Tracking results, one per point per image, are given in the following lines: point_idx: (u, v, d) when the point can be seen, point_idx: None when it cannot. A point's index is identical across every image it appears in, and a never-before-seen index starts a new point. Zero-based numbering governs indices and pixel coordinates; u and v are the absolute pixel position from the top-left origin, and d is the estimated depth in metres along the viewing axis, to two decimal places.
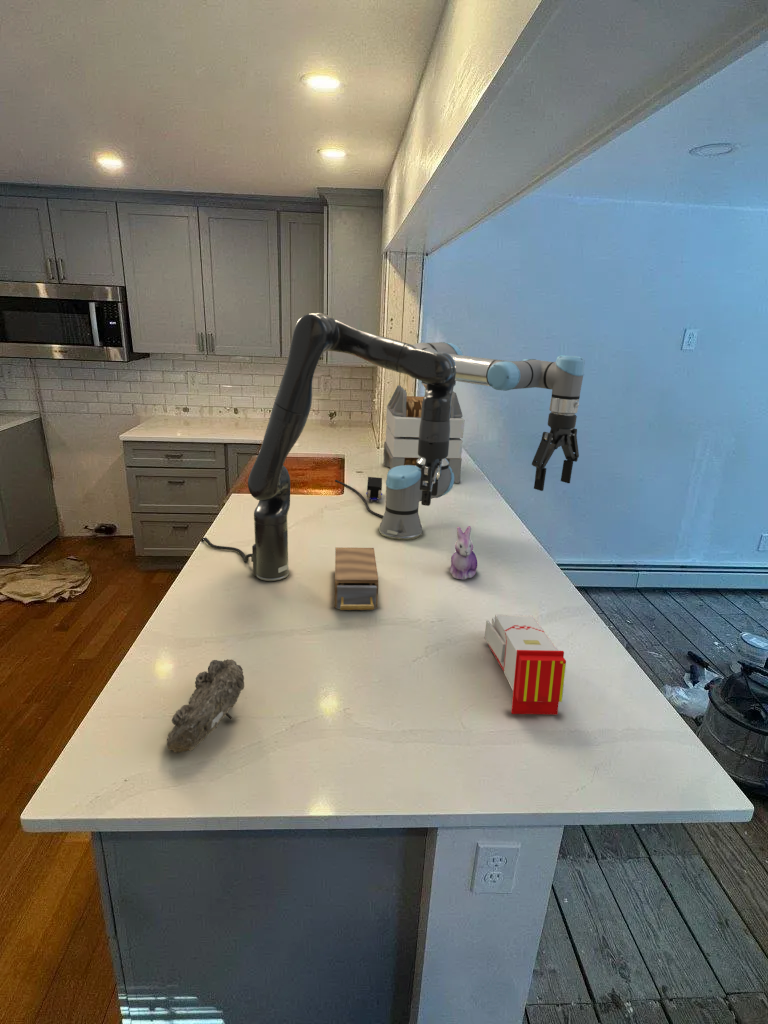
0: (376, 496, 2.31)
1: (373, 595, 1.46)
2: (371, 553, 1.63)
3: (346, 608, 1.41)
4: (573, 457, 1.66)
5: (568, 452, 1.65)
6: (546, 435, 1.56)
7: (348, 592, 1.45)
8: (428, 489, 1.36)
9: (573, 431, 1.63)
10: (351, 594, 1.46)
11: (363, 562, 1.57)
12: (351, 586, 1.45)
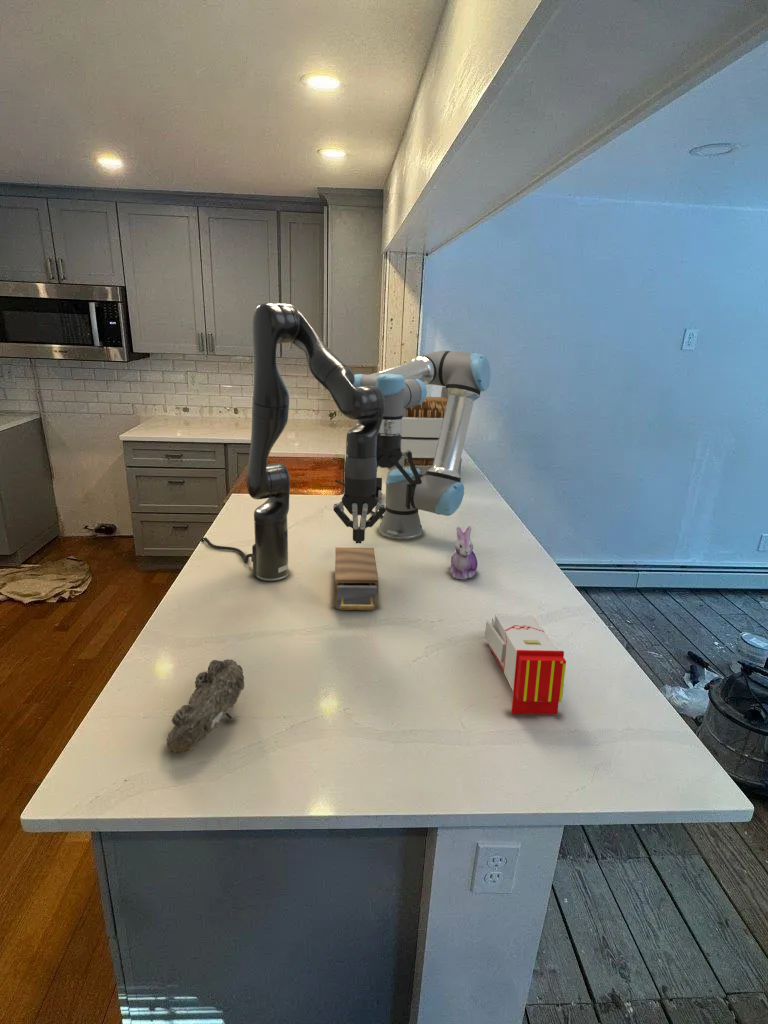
0: (376, 496, 2.31)
1: (373, 595, 1.46)
2: (371, 553, 1.63)
3: (346, 608, 1.41)
4: (411, 482, 1.57)
5: (403, 476, 1.57)
6: None
7: (348, 592, 1.45)
8: None
9: (407, 454, 1.55)
10: (351, 594, 1.46)
11: (363, 562, 1.57)
12: (351, 586, 1.45)
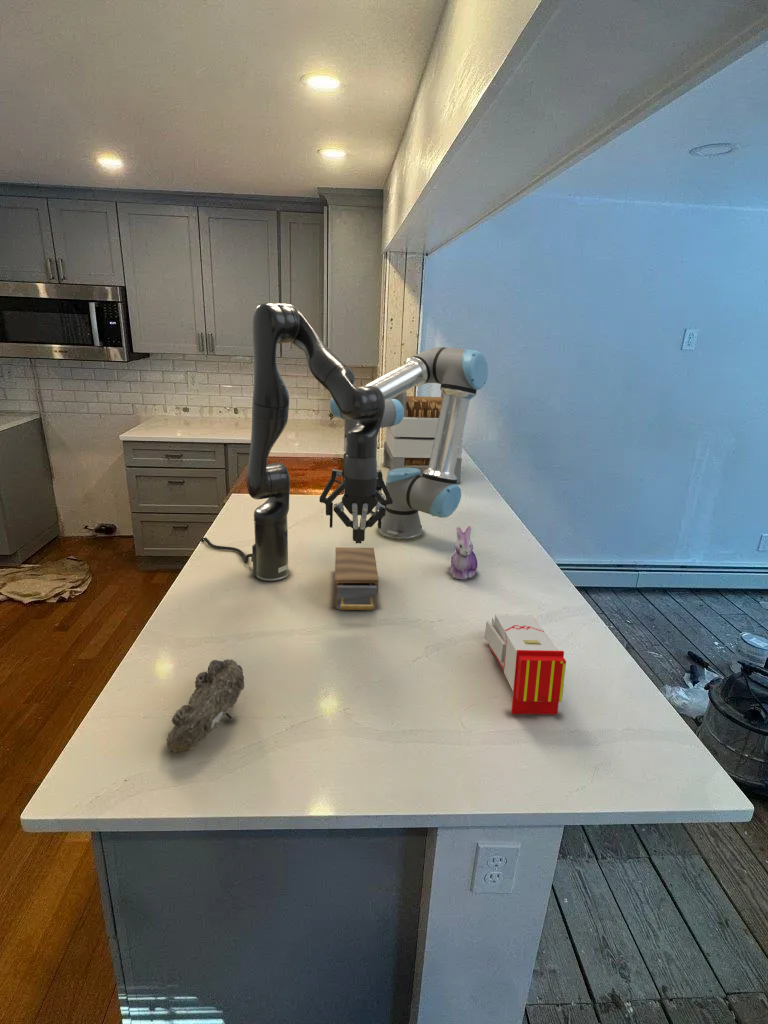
0: None
1: (373, 595, 1.46)
2: (371, 553, 1.63)
3: (346, 608, 1.41)
4: (382, 502, 1.57)
5: None
6: None
7: (348, 592, 1.45)
8: None
9: (377, 474, 1.55)
10: (351, 594, 1.46)
11: (363, 562, 1.57)
12: (351, 586, 1.45)
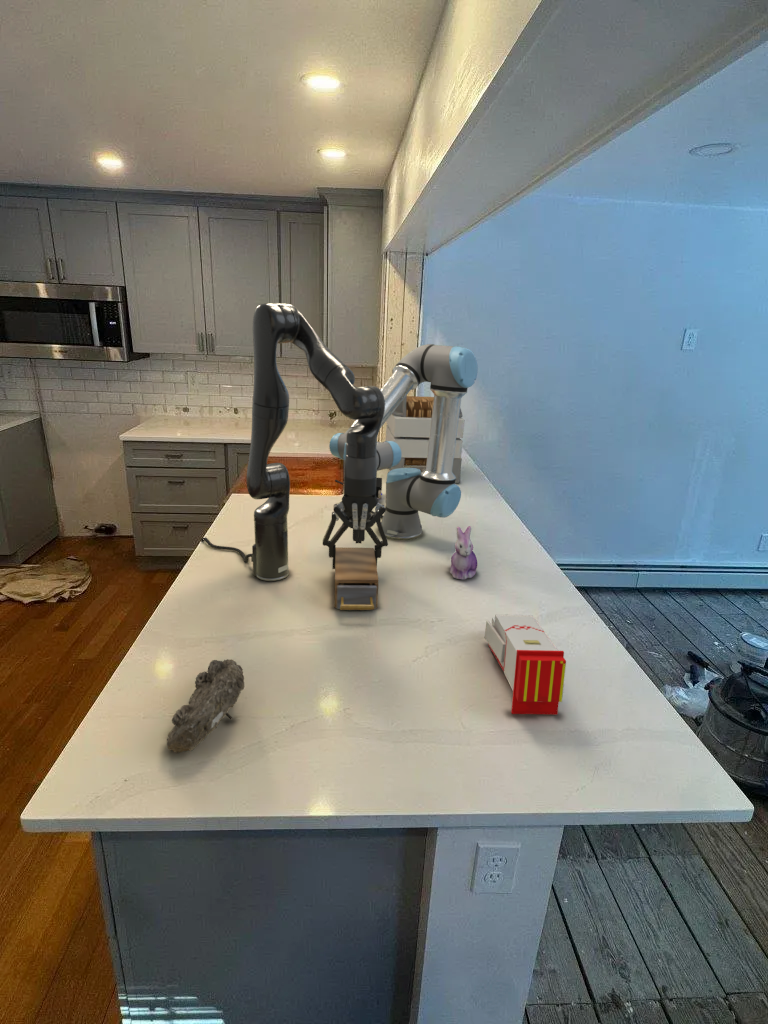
0: (376, 496, 2.31)
1: (373, 595, 1.46)
2: (371, 553, 1.63)
3: (346, 608, 1.41)
4: (377, 544, 1.61)
5: (371, 537, 1.61)
6: None
7: (348, 592, 1.45)
8: None
9: None
10: (351, 594, 1.46)
11: (363, 562, 1.57)
12: (351, 586, 1.45)
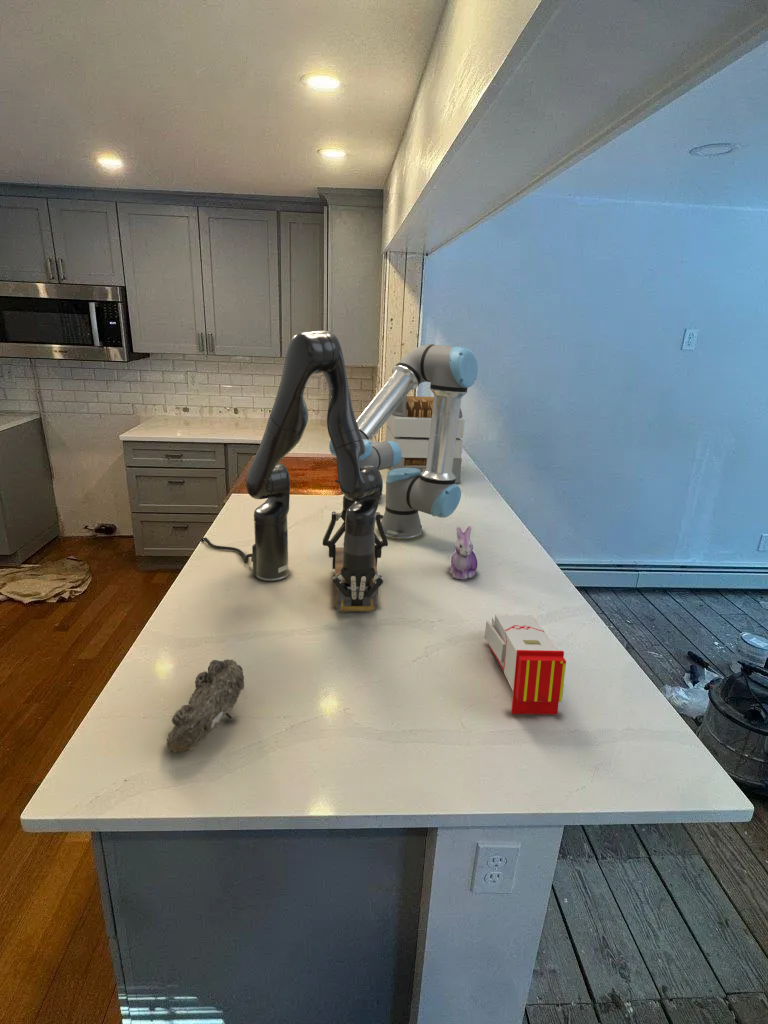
0: None
1: (373, 596, 1.45)
2: None
3: (346, 609, 1.40)
4: (377, 544, 1.61)
5: None
6: None
7: None
8: None
9: (376, 517, 1.59)
10: None
11: None
12: None
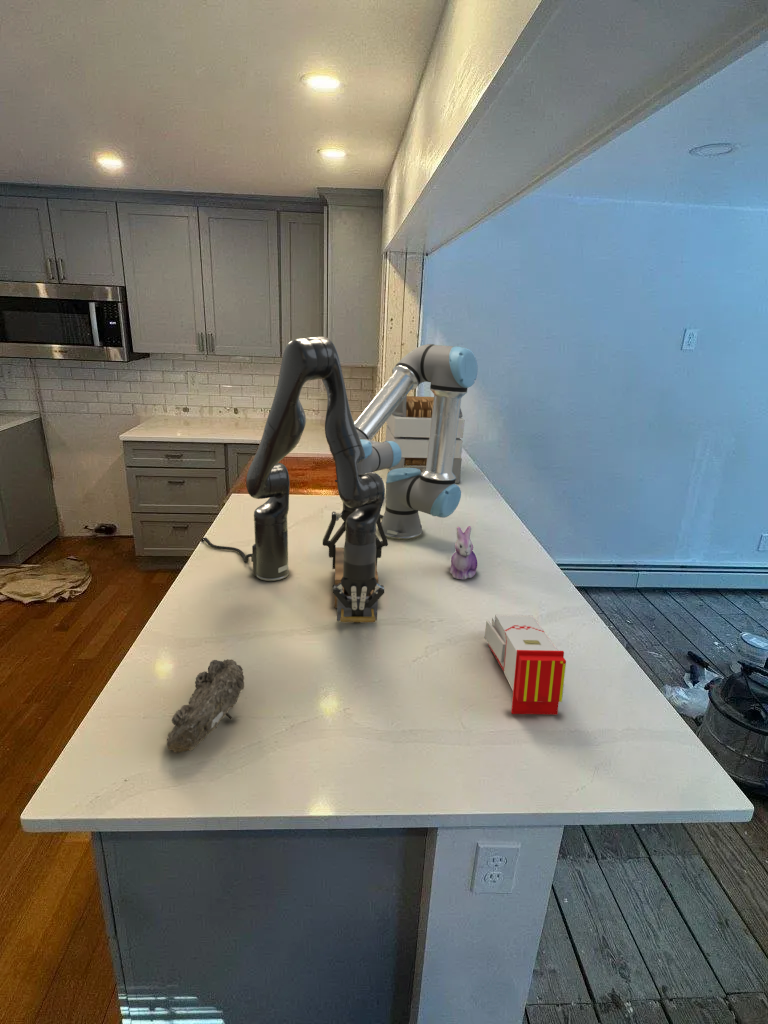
0: None
1: (375, 606, 1.41)
2: None
3: (346, 620, 1.35)
4: (377, 544, 1.61)
5: None
6: None
7: None
8: None
9: None
10: None
11: None
12: (351, 597, 1.40)
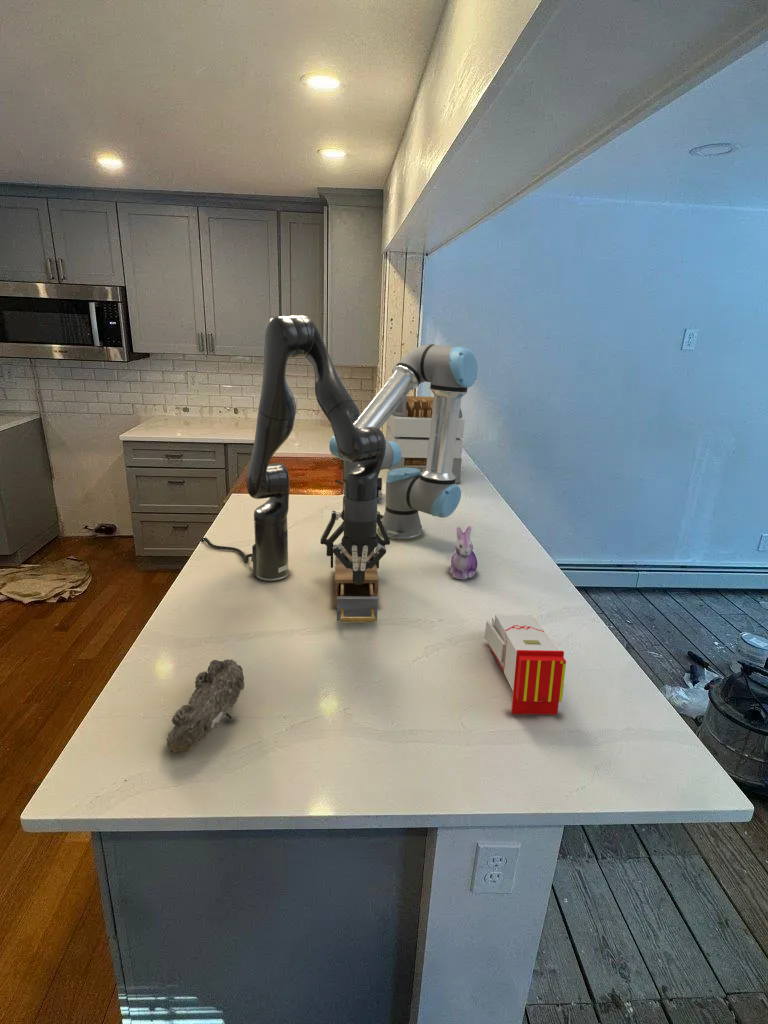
0: None
1: (375, 606, 1.41)
2: (371, 554, 1.62)
3: (346, 620, 1.35)
4: (379, 543, 1.61)
5: None
6: None
7: (348, 603, 1.40)
8: None
9: None
10: (351, 605, 1.40)
11: None
12: (351, 597, 1.40)
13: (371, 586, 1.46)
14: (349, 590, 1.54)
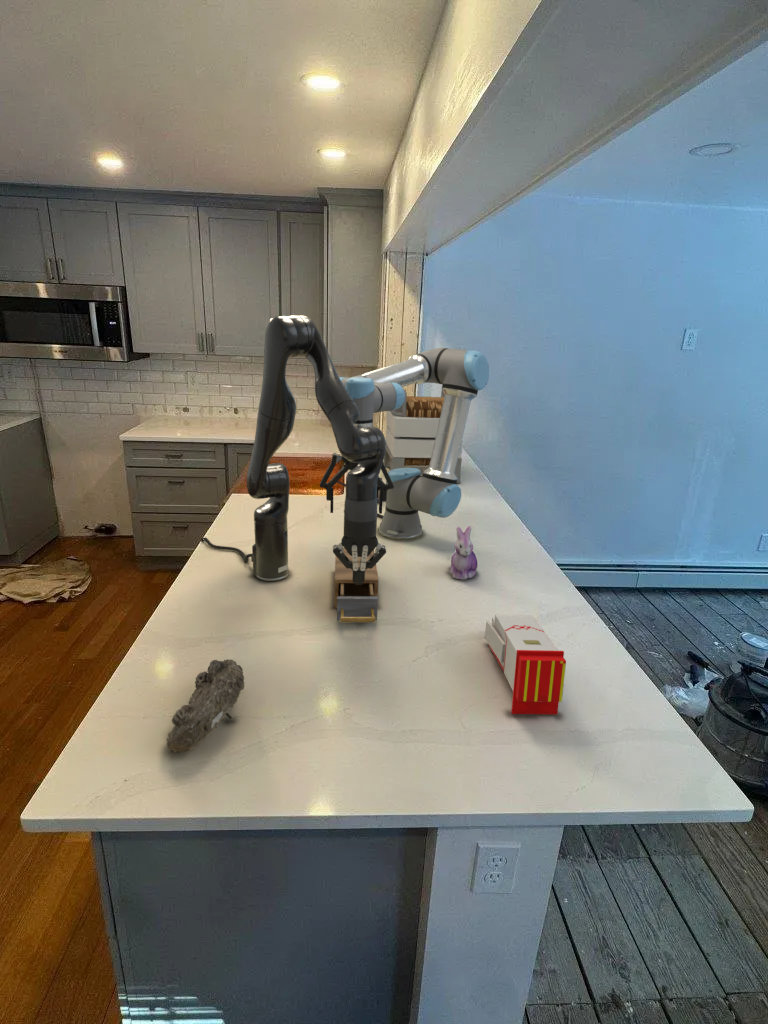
0: None
1: (375, 606, 1.41)
2: (371, 553, 1.62)
3: (346, 620, 1.35)
4: (383, 486, 1.56)
5: None
6: (332, 456, 1.53)
7: (348, 603, 1.40)
8: None
9: None
10: (351, 605, 1.40)
11: None
12: (351, 597, 1.40)
13: (371, 586, 1.46)
14: (349, 590, 1.54)
